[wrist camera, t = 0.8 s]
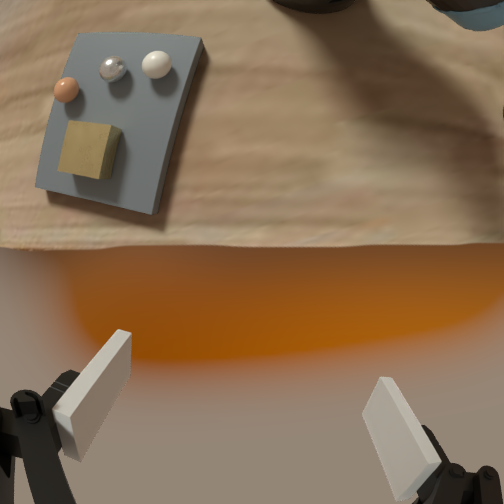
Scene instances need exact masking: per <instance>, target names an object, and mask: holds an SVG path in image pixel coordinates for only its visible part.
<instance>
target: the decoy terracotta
mask: <svg viewBox="0 0 504 504" xmlns="http://www.w3.org/2000/svg"><path fill="white" fill-rule="evenodd" d="M78 92H79V84H78V82H77V81H76V80H75V79H74V78H72V77H65V78H63V79H61V80H59V81H58V82H57V84H56V85H55V88H54V96H55V98H56V100H57V101H59V102H61V103H68V102H71V101H72V100H74V99H75V98H76V96H77V95H78Z"/></svg>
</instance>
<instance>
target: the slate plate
mask: <svg viewBox="0 0 504 504" xmlns="http://www.w3.org/2000/svg"><path fill="white" fill-rule="evenodd" d="M203 47H204V44H203V41H202V39H201V38H200V37H192V36H183V35H172V34H159V33H139V32H96V33H78V35H77V38H76V40H75V42H74V45H73V47H72V50H71V52H70V55H69V58H68V60H67V63H66V66H65V68H64V71H63V74H62V77H61V79H63V78H65V77H72V78H74V79H75V80H76V81H77V82H78V84H79V92H78V95H77V96H76V98H75V99H74V100H72V101H71V102H68V103H61V102H59V101H57V100H56V98H55V99H54V102H53V106H52V109H51V113H50V117H49V120H48V124H47V128H46V132H45V137H44V141H43V145H42V150H41V155H40V160H39V165H38V171H37V177H36V183H35V187H36V188H41V189H45V190H49V191H54V192H58V193H62V194H66V195H71V196H75V197H79V198H83V199H88V200H92V201H96V202H100V203H104V204H109V205H113V206H117V207H121V208H125V209H130V210H134V211H138V212H142V213H146V214H150V215H152V214H156V213H158V209H159V205H160V200H161V195H162V191H163V187H164V182H165V178H166V174H167V169H168V165H169V161H170V157H171V153H172V149H173V146H174V142H175V138H176V134H177V131H178V127H179V123H180V120H181V116H182V113H183V109H184V106H185V103H186V99H187V96H188V93H189V90H190V86H191V83H192V80H193V77H194V74H195V71H196V68H197V65H198V62H199V59H200V56H201V53H202V50H203ZM153 51H163V52H165V53H167V54H168V55H169V56H170V58H171V61H172V66H171V69H170V71H169V72H168V73H167V74H166V75H165V76H164V77H162V78H158V79H153V78H149V77H148V76H146V75H145V74H144V72H143V70H142V62H143V59H144V58H145V57H146V56H147V55H148V54H149V53H151V52H153ZM110 56H119V57H121V58H123V59H124V61H125V62H126V66H127V69H126V73H125V75H124V76H123V77H122V78H121V79H120V80H119V81H116V82H113V83H109V82H105V81H104V80H102V79H101V77H100V75H99V67H100V64H101V63H102V61H103V60H104V59H106V58H108V57H110ZM69 120H72V121H81V122H90V123H98V124H106V125H112V126H115V127H117V128H120V129H122V131H121V135H120V138H119V142H118V146H117V151H116V155H115V159H114V163H113V168H112V173H111V177H110V179H96V178H91V177H86V176H81V175H76V174H71V173H66V172H61V171H58V165H59V160H60V155H61V151H62V146H63V142H64V138H65V134H66V129H67V126H68V122H69Z"/></svg>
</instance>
